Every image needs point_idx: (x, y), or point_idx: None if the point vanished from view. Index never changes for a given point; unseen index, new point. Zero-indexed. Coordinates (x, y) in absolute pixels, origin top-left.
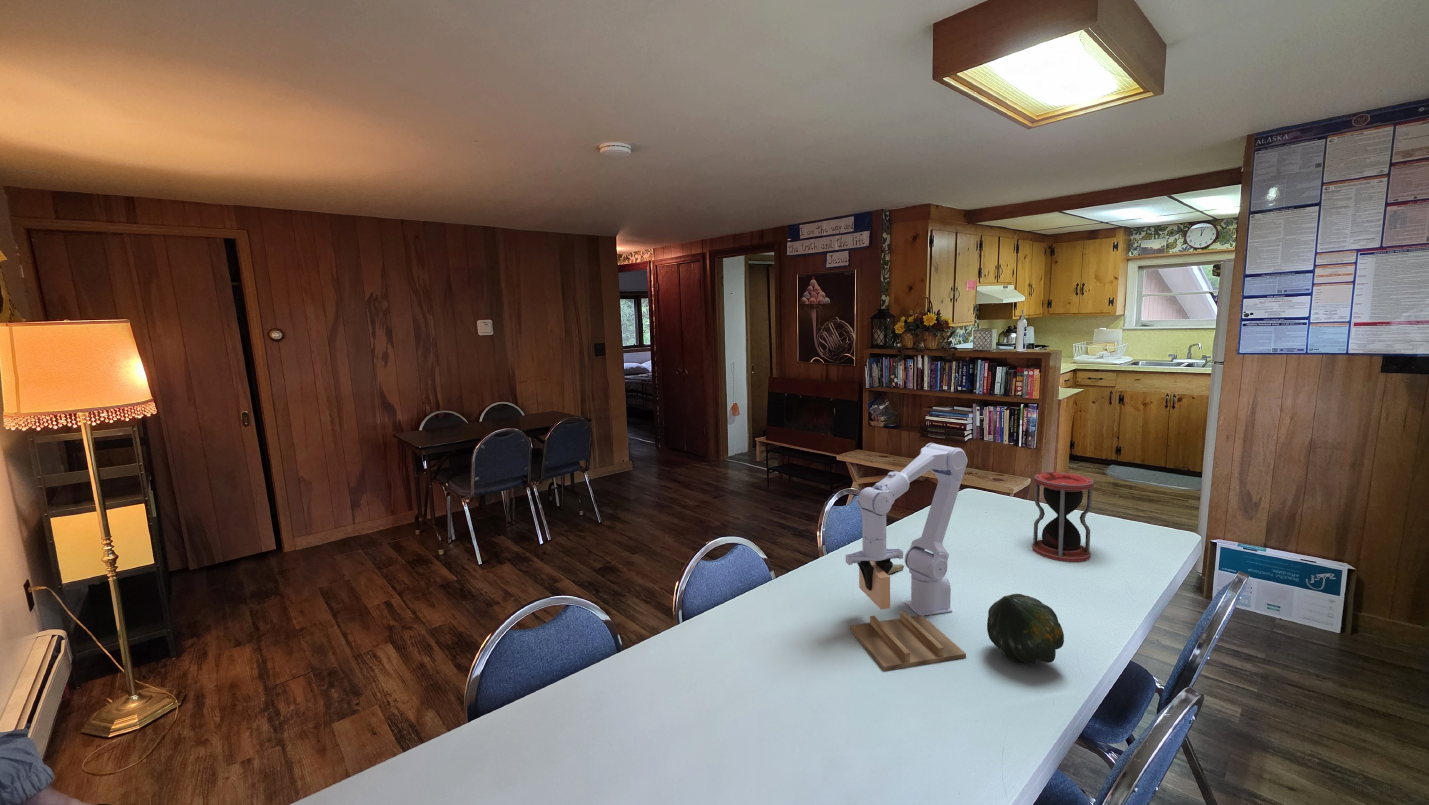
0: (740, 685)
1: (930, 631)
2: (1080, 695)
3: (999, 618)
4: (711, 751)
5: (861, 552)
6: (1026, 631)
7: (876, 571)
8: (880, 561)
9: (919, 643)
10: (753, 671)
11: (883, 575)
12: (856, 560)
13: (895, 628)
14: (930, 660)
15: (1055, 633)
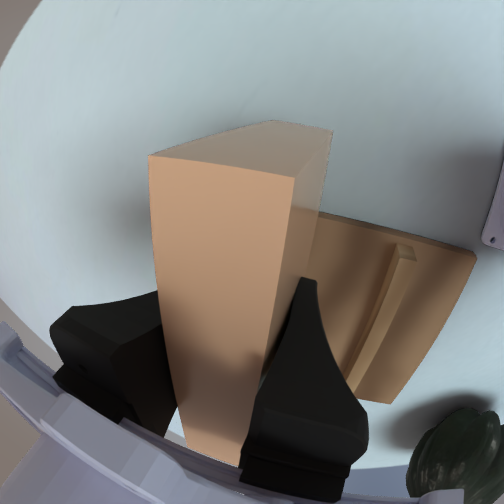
0: (34, 259)
1: (413, 332)
2: None
3: (415, 495)
4: (37, 318)
5: (39, 412)
6: None
7: (198, 420)
8: (239, 464)
9: (339, 352)
10: (40, 241)
11: (214, 450)
12: (41, 387)
13: (339, 277)
14: None
15: None
